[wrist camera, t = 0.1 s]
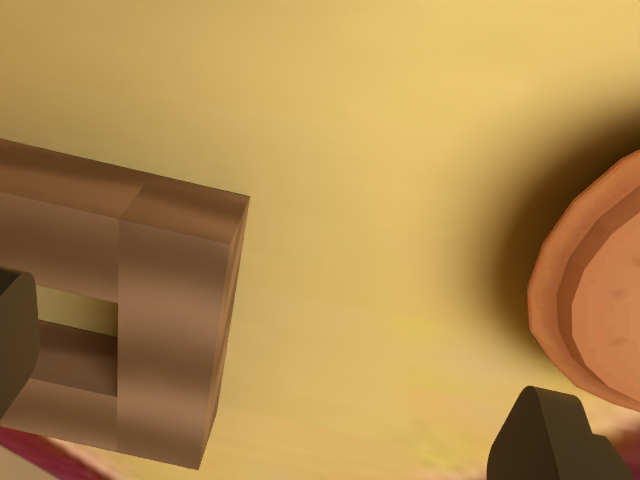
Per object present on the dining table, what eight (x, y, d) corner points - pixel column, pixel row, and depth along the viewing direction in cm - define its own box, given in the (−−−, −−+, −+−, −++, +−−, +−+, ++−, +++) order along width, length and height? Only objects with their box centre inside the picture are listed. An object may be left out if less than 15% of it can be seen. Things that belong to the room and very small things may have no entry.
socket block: (-87, 118, 28) (-152, 157, 25) (249, 196, 28) (230, 244, 25) (-39, 356, 37) (-82, 408, 34) (216, 414, 37) (198, 470, 34)
